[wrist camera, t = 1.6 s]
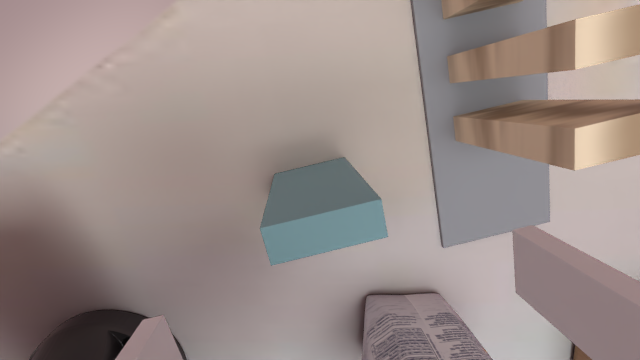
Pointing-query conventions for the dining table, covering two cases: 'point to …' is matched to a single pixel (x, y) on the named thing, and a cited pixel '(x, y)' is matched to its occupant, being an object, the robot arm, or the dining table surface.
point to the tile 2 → (470, 6)
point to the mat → (464, 97)
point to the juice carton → (416, 330)
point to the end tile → (320, 211)
